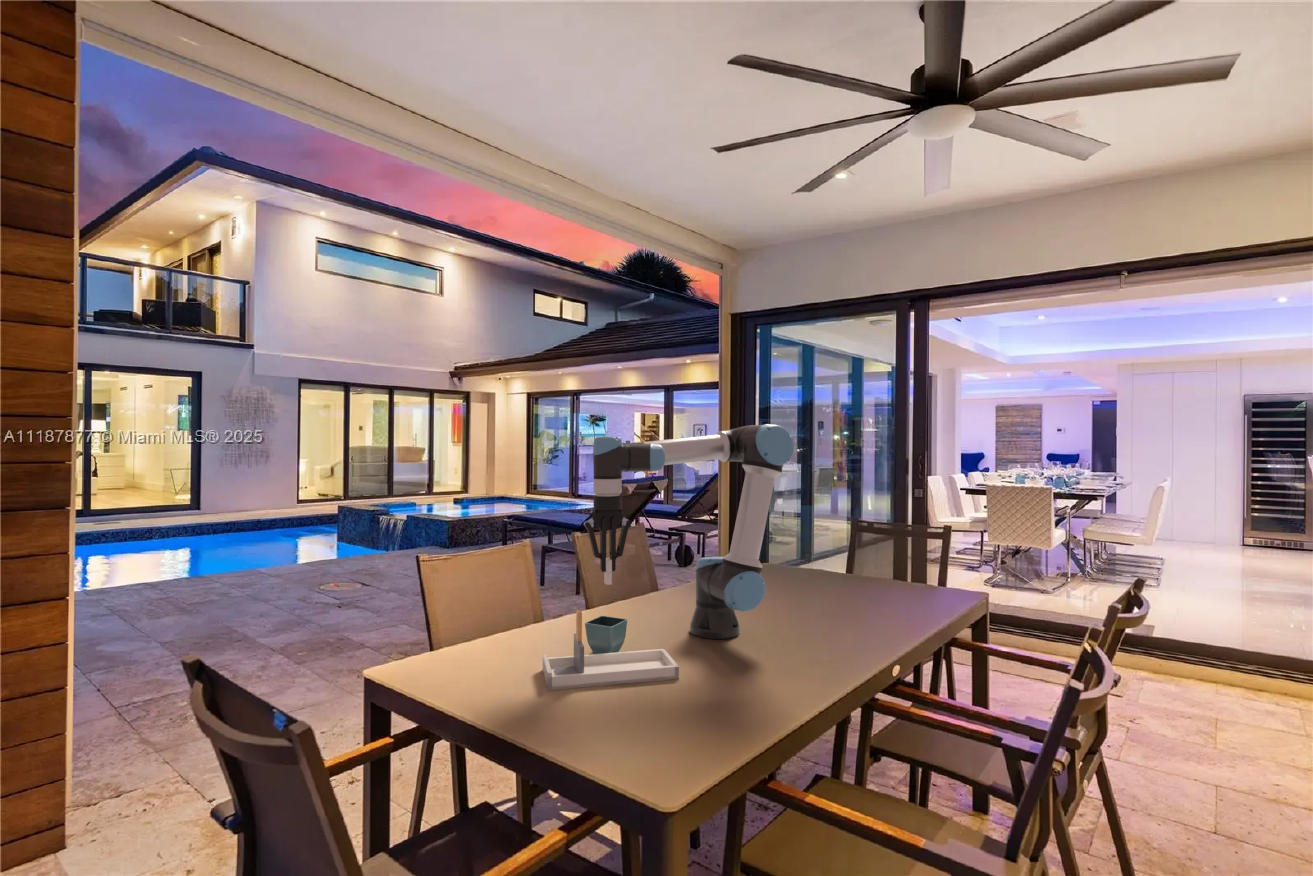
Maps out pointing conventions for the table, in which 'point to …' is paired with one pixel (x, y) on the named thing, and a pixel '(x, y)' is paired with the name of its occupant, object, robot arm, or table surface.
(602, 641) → the flower pot
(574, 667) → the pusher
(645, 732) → the table surface
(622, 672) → the white tray
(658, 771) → the table surface
